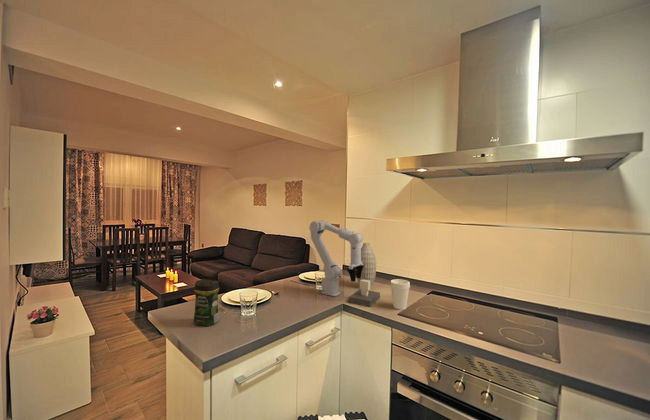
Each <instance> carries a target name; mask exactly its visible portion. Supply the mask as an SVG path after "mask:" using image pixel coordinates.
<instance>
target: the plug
mask: <svg viewBox="0 0 650 420" xmlns="http://www.w3.org/2000/svg"><path fill="white" fill-rule="evenodd" d="M359 289H361V295H363V296H368V290H369V291H371V288H370V280H363V279H362V280H360V285H359Z"/></svg>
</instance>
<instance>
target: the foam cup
mask: <svg viewBox="0 0 650 420" xmlns="http://www.w3.org/2000/svg"><path fill="white" fill-rule="evenodd" d="M410 283H411V282H410V281H408V280H407V279H399V278H397V279H391V280H390V290H391V297H392V299H391V300H392V307H393V308H394V309H396V310H406V309H407V305H408V298H409V292H410V288H411V284H410Z"/></svg>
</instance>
